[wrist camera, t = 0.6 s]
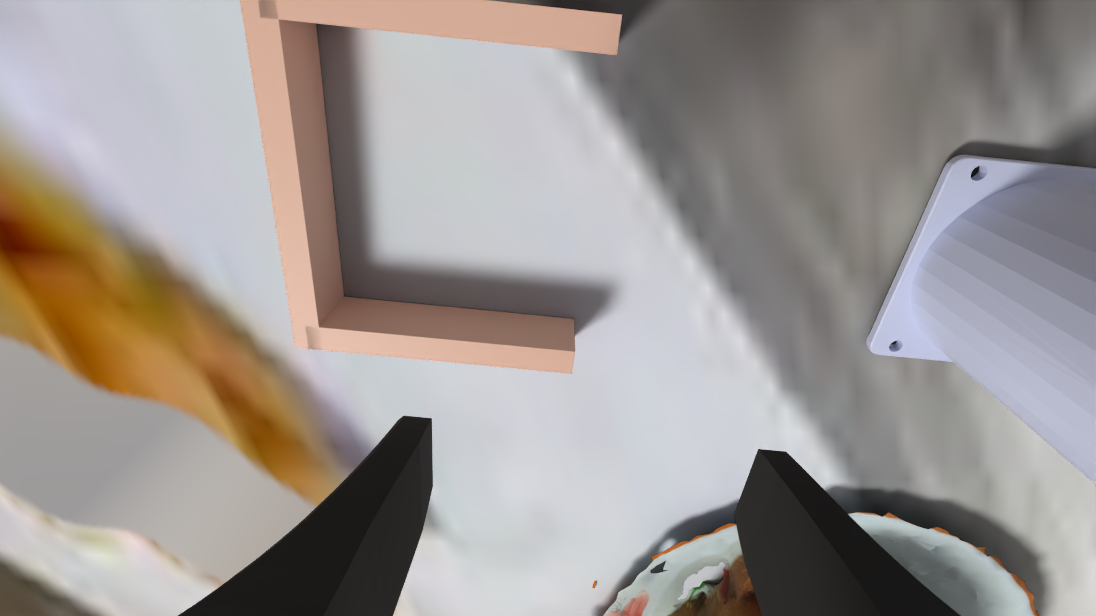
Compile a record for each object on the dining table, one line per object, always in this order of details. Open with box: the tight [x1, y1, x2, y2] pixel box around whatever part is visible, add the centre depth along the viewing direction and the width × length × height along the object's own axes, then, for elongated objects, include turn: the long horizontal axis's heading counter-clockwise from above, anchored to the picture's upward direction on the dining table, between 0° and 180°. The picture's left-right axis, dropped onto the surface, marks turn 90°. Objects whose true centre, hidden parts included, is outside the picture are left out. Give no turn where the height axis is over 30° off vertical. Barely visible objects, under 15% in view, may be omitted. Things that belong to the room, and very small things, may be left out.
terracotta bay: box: [240, 0, 622, 374], centre depth 18 cm, size 10×12×2 cm
